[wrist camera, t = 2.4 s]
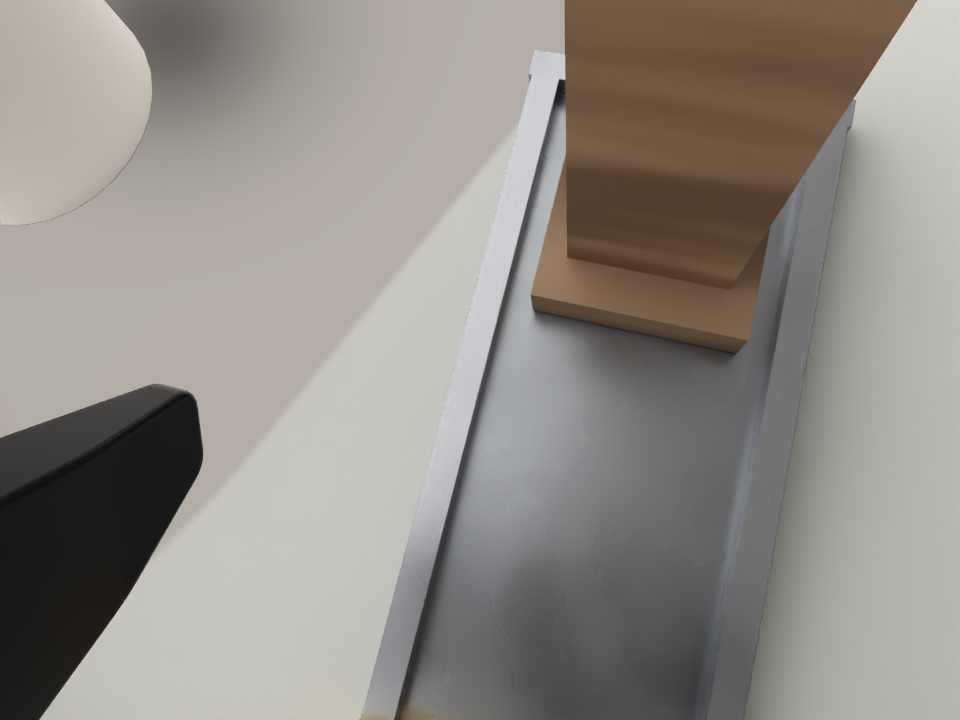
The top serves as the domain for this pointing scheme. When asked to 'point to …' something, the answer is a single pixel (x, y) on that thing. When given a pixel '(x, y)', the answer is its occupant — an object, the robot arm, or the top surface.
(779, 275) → the track
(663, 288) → the plate
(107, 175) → the cup
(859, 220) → the top surface
